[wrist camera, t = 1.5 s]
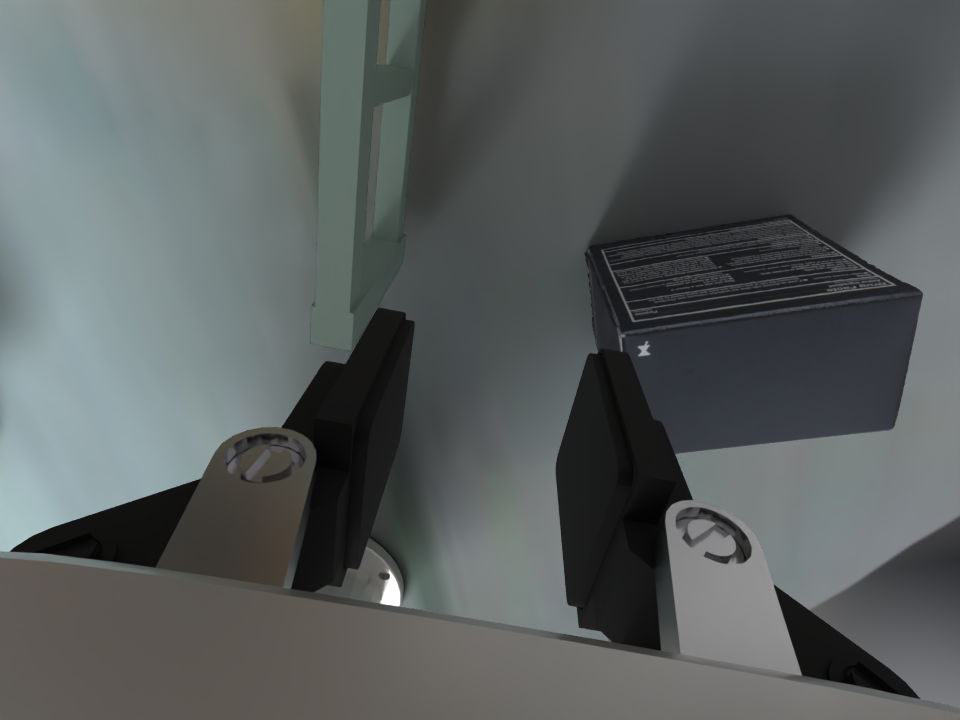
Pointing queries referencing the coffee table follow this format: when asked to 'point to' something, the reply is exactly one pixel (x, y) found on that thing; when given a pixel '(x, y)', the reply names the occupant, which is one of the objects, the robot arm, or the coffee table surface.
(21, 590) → the robot arm
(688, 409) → the small box
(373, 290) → the gate
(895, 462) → the coffee table surface
